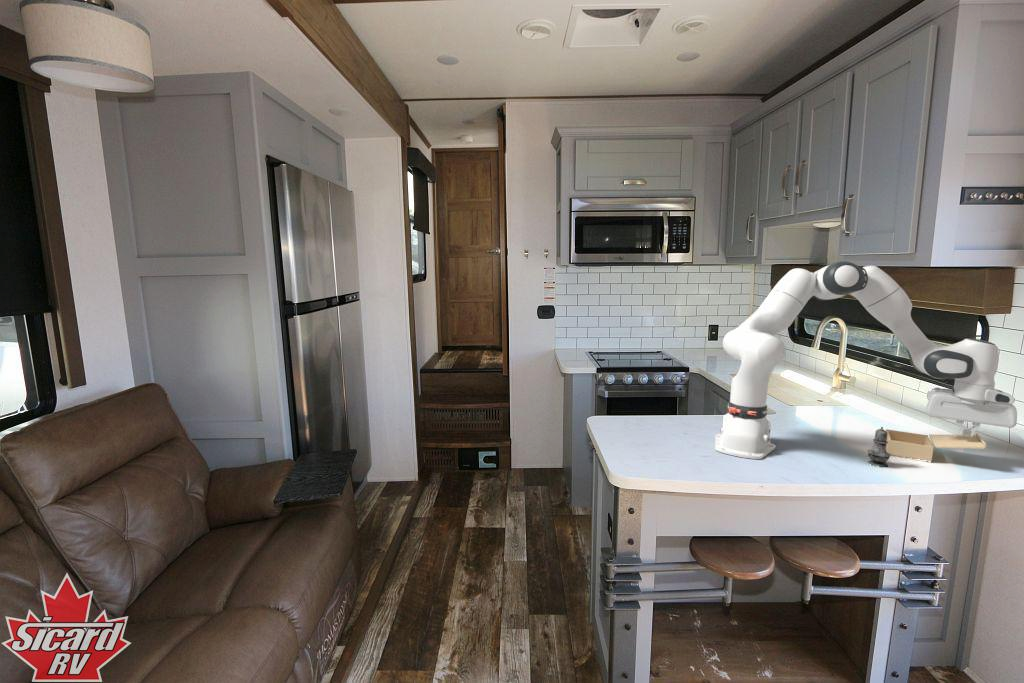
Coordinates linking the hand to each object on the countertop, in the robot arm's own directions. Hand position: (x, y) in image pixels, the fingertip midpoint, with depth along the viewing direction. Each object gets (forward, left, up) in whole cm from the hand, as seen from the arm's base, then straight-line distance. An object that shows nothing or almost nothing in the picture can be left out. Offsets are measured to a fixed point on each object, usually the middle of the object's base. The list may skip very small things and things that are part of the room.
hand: (965, 435), depth 149 cm
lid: (+2, +2, -2) cm, 3 cm away
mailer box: (+2, +13, -9) cm, 16 cm away
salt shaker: (-17, +22, -9) cm, 29 cm away
